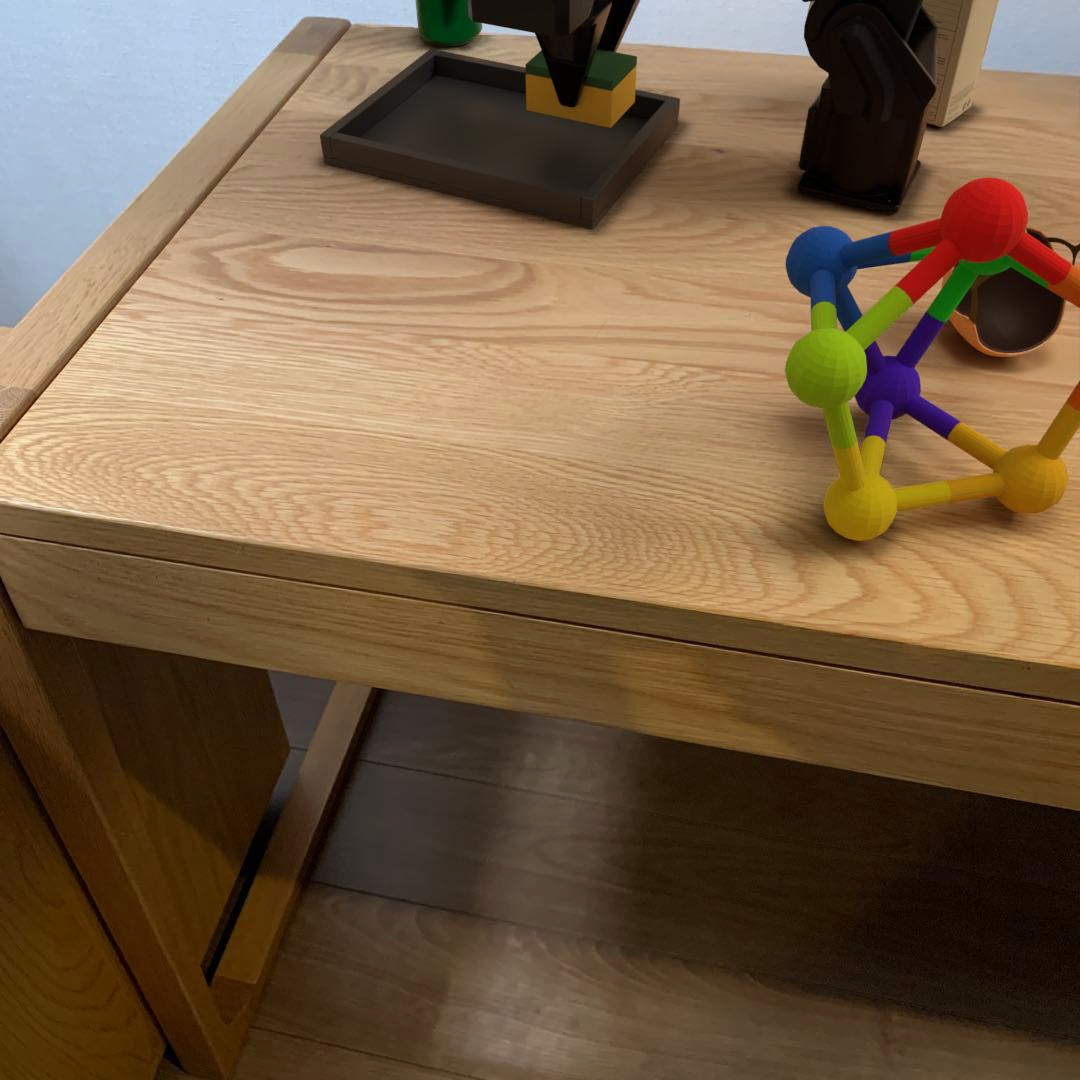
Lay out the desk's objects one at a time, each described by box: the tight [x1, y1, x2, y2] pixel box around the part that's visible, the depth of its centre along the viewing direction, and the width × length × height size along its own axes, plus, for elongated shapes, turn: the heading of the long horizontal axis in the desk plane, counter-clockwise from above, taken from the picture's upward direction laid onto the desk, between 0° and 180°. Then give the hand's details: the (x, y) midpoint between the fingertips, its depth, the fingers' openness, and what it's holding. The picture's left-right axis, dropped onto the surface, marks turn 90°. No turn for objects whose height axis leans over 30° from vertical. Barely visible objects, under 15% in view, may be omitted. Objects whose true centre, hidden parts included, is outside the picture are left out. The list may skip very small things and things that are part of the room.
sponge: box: [524, 49, 638, 128], centre depth 69 cm, size 4×6×3 cm, turn 64°
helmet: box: [941, 226, 1080, 358], centre depth 54 cm, size 6×7×8 cm
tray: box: [319, 48, 681, 230], centre depth 72 cm, size 20×15×2 cm
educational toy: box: [784, 176, 1080, 542], centre depth 45 cm, size 16×13×15 cm
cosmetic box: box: [922, 0, 1000, 128], centre depth 71 cm, size 6×4×12 cm
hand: (582, 91), depth 69 cm, fingers closed on sponge, 4 cm apart
